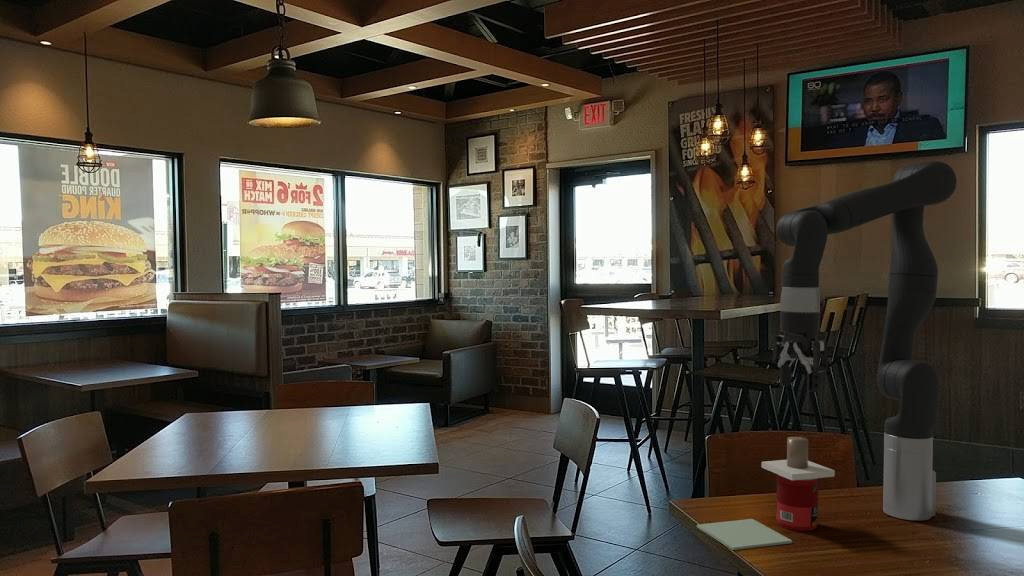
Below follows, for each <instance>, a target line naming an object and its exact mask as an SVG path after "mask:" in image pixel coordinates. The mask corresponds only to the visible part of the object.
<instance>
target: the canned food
mask: <svg viewBox="0 0 1024 576" xmlns="http://www.w3.org/2000/svg"><path fill="white" fill-rule="evenodd" d="M775 503H776V514H775V515H776V516H775V517H776V518H775V519H776V522H777V524H778V525H779V526H780V527H782V528H784V529H786V530H791V531H799V532H805V531H806V532H808V531H813V530H815V529H816V528H817V527H818V523H819V522H818V521H819V519H818V518H819V517H818V514H819V478H814V479H803V480H790V479H787V478H785V477H783V476H780V475H778V474H776V501H775Z"/></svg>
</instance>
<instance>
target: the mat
mask: <svg viewBox="0 0 1024 576" xmlns="http://www.w3.org/2000/svg"><path fill="white" fill-rule="evenodd" d="M696 528H697V529H699V530H701V531H702V532H703V533H705V534H707V536H710V537H711V538H713V539H715V540H716V541H718V542H719V543H721V544H723V545H724V546H725V547H727V548H729V549H730V550H732V551H738V550H745V549H753V548H761V547H762V548H763V547H770V546H771V547H772V546H779V545H787V544H793V540H792V539H790V538H789V537H786V536H785V535H783V534H782V533H780V532H777V531H776V530H774V529H771V528H770V527H768V526H766V525H765V524H762V522H759V521H758V520H756V519H753V518H748V519H747V518H746V519H737V520H729V521H718V522H711V523H710V522H709V523H702V524H701V523H700V524H696Z"/></svg>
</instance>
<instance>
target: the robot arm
mask: <svg viewBox="0 0 1024 576" xmlns="http://www.w3.org/2000/svg"><path fill="white" fill-rule="evenodd" d="M956 188H957V175H956V172H955V171H954V168H952V167H951V166H950V165H949V164H948V163H946V162H943V161H939V160H930V161H922V162H916V163H911V164H907V165H904V166H902V167H900V168H899V169H897V171H896V172H895V174H894V175H893V178H892V182H889V183H885V184H882V185H878V186H873V187H869V188H865V189H861V190H856V191H853V192H850V193H848V194H843V195H841V196H838V197H835V198H833V199H830V200H828V201H825V202H823V203H821V204H817V205H812V206H808V207H805V208H800V209H797V210H793V211H790V212H788V213H786V214H784V215H783V216H782V217H781V218H780V219H779V220H778V222H777V224H776V226H775V234H776V236H777V239H778V241H780V242H781V243H782V244H784V245H786V246H789V247H794V248H793V253H792V256H791V257H790V258H788V259H785V261H784V262H783V264H782V271H781V273H782V274H781V276H782V277H781V279H782V280H781V281H782V283H781V286H782V287H781V294H780V309H779V310H780V311H779V312H780V314H779V315H780V317H779V320H780V321H779V322H780V323H779V331H780V332H782V333H784V334H783V335H782V334H777V335H774V336H773V345H772V363H773V364H777V367H778V368H779V385H780V386H782V387H789V386H791V385H792V367H791V366H792V364H793V362H794V361H796V360H798V361H800V363H801V364H802V365H804V368H805V369H806V372H807V373H806V391H807V392H808V393H818V392H819V389H820V374H821V373H823V372H828V368H829V365H828V363H829V359H828V342H827V340H816V334H818V333H819V332H820V325H821V323H820V319H821V318H820V316H821V315H820V314H821V309H820V308H821V297H820V288H819V287H820V265H821V262H822V260H823V256H824V252H825V249H826V244H827V241H828V235H835V234H839V233H844V232H847V231H849V230H852V229H854V228H857V227H860V226H863V225H865V224H868V223H870V222H873V221H874V220H878V219H880V218H881V219H882V218H883V217H885V216H889V215H891V226H892V228H891V232H892V233H891V234H892V235H891V251H890V254H891V255H890V264H889V265H890V266H889V275H888V286H887V290H888V291H887V303H886V304H887V306H886V314H885V326H884V334H883V340H882V345H881V349H880V354H879V359H878V366H877V373H876V383H877V386H878V390H879V391H880V393H881V394H882V395H883V396H884V397H885V398H888V399H890V400H895V401H899V402H900V407H899V412H898V414H897V415H895V416H891V417H887V418H886V419H885V420H884V427H883V429H884V433H883V434H884V435H883V486H882V488H883V494H882V496H883V498H882V501H883V502H882V503H883V504H882V510H883V513H885V514H886V515H888V516H891V517H893V518H897V519H901V520H907V521H927V520H930V519H931V518H932V517H935V516H936V498H937V497H936V496H937V495H936V494H937V493H936V491H937V490H936V489H937V484H936V483H937V473H936V471H935V470H933V455H934V453H933V450H934V449H933V448H934V447H933V446H934V445H933V442H934V440H933V439H934V429H935V426H936V425H937V422H938V417H939V416H938V414H939V406H940V405H939V403H940V393H941V392H940V391H941V389H940V388H941V387H940V377H939V374H938V371H937V369H936V368H935V367H934V366H933V365H932V364H931V363H930V362H926V361H923V360H922V361H921V360H917V359H913V353H914V351H913V350H914V344H915V343H914V342H915V338H916V335H917V332H918V331H919V328H920V327H921V325H922V324H923V322H924V320H925V319H926V317H928V315H929V313H930V311H932V308H933V306H934V304H935V301H936V298H937V291H938V290H937V289H938V276H939V273H938V272H939V269H938V263H937V261H936V260H937V259H936V257H935V256H934V254H933V253H934V252H932V249H931V247H930V245H929V242H928V240H927V238H926V235H925V231H924V211H925V206H934V205H938V204H941V203H944V202H946V201H947V200H948V199H949V198H950V197H952V195H953V194H954V192H955V190H956ZM779 353H780V354H779ZM779 356H780V357H779ZM820 360H821V364H820Z"/></svg>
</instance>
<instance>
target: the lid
mask: <svg viewBox="0 0 1024 576" xmlns="http://www.w3.org/2000/svg"><path fill="white" fill-rule="evenodd" d="M786 439H787V441H786V444H787V445H786V459H779V460H778V459H777V460H768V461H767V460H766V461H761V468H762V469H764V470H766V471H769V472H772V474H773V473H774V474H776V475H777V474H778V475H780V476H783V477H785V478H787V479H790V480H803V479H814V478H818V479H823V478H833V477H835V474H836V473H835V472H836V471H835V470H834V469H832V468H829V467H827V466H823V465H821V464H818V463H815V462H813V461H810V460H809V439H808V438H805V437H803V436H802V437H801V436H788V437H786Z"/></svg>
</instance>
